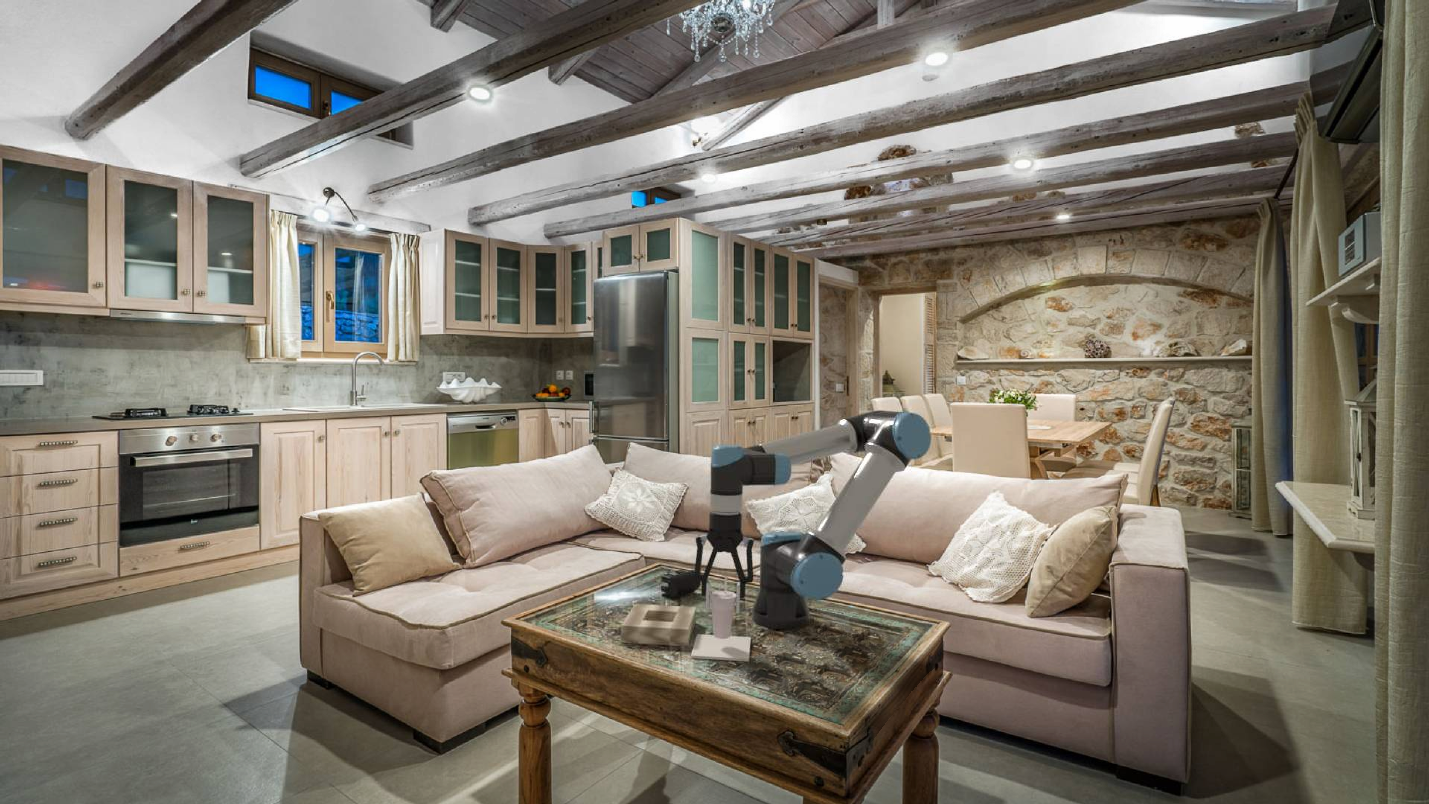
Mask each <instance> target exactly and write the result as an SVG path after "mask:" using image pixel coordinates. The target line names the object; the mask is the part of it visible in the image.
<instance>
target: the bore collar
mask: <svg viewBox="0 0 1429 804" xmlns="http://www.w3.org/2000/svg"><path fill="white" fill-rule="evenodd" d="M696 614H697V607H696V606H680V605H679V606H678V605H661V604H642V603H634V605H633V606H632V608H631V610H630V611H629V612H628V614H627V616H626V617H625V619H624V620H623V621H622V623H621V624H620V643H626V644H627V643H628V644H642V645H658V646H677V647H688V646H689V645H690V640H691V638H692V634H693V632H694V629H695V625H696V622H697V621H696V619H697V615H696Z"/></svg>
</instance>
